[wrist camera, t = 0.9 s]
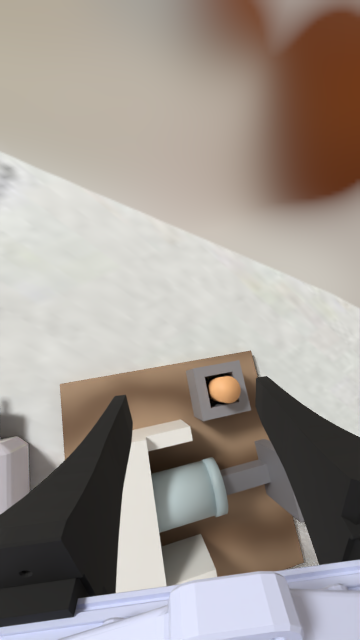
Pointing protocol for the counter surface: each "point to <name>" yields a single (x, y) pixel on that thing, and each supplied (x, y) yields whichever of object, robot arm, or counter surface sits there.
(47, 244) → the counter surface
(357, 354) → the counter surface
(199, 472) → the grey and blue plunger
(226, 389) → the orange rounded peg
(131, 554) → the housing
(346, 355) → the counter surface
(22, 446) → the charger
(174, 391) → the mounting board
